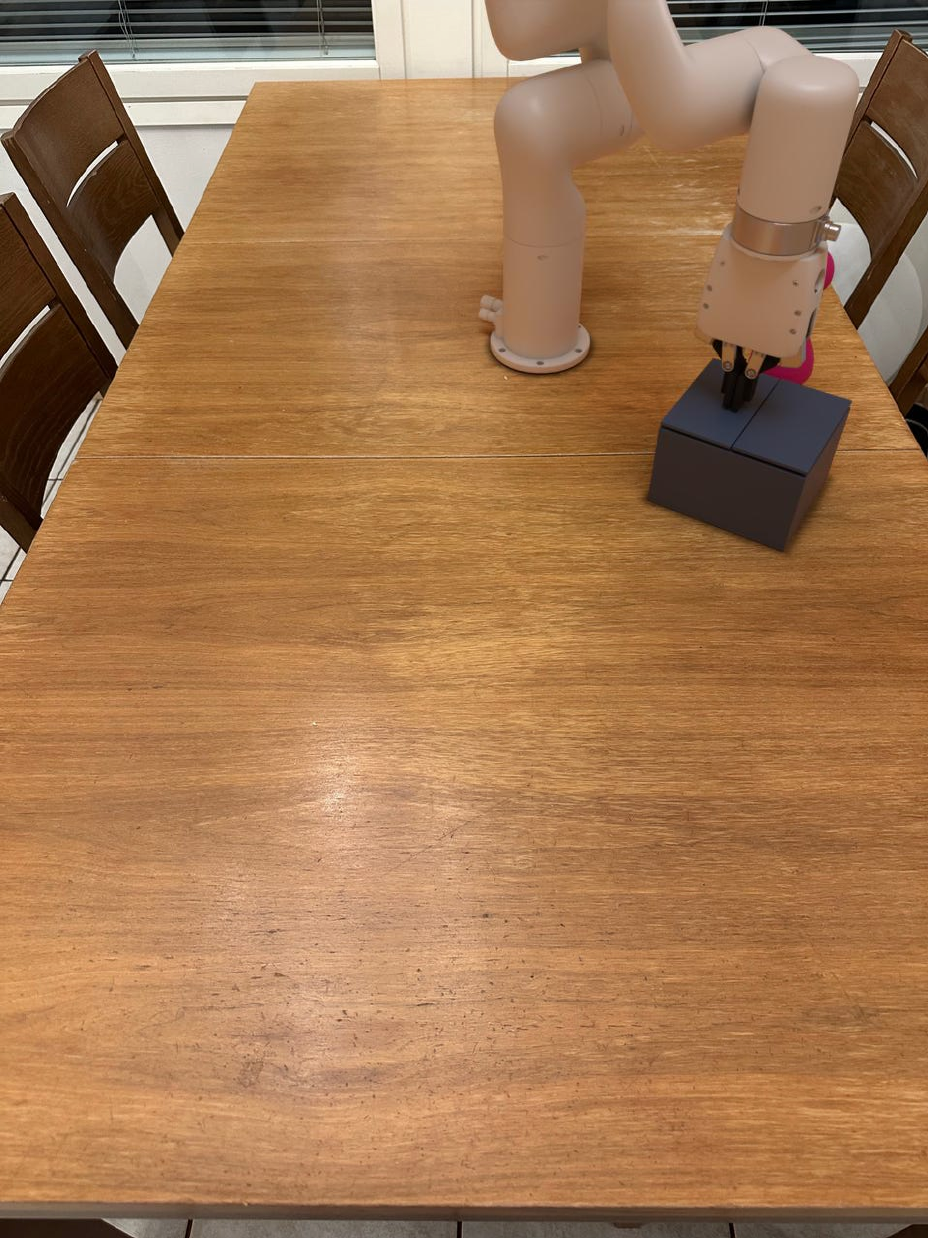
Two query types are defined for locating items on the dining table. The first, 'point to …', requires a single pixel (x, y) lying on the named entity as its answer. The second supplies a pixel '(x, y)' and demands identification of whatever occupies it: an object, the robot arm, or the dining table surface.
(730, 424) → the flap
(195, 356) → the dining table surface
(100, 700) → the dining table surface
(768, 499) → the carton
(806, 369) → the pepper mill
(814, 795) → the dining table surface
